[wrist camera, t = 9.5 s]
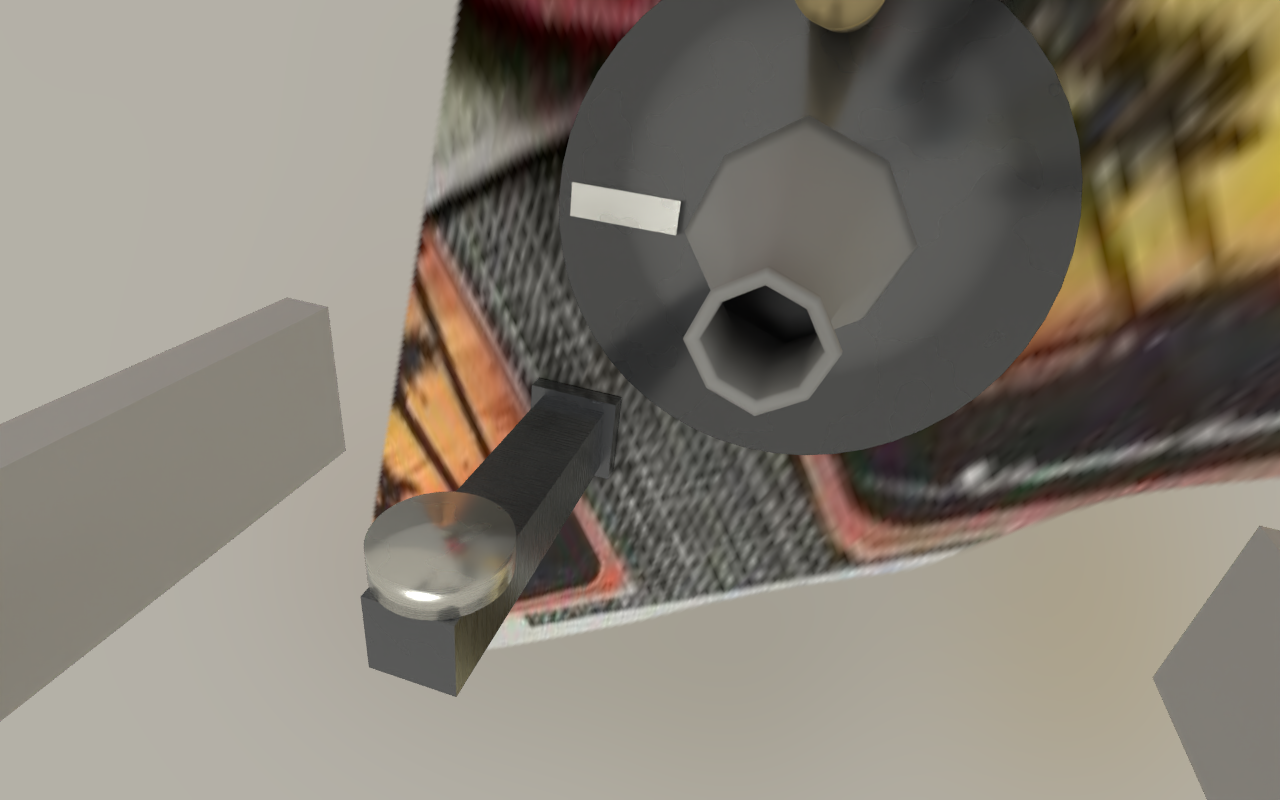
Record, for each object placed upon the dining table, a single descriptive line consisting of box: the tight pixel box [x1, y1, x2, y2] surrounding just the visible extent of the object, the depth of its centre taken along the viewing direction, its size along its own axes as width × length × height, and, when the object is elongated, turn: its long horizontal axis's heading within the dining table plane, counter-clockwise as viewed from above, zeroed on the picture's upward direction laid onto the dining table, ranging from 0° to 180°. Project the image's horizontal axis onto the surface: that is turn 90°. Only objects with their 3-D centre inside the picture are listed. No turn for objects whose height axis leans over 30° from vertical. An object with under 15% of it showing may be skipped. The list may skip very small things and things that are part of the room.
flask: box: [683, 115, 918, 416], centre depth 19 cm, size 7×7×10 cm
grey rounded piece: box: [559, 0, 1082, 455], centre depth 22 cm, size 17×17×8 cm
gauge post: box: [361, 378, 621, 697], centre depth 26 cm, size 4×5×14 cm
